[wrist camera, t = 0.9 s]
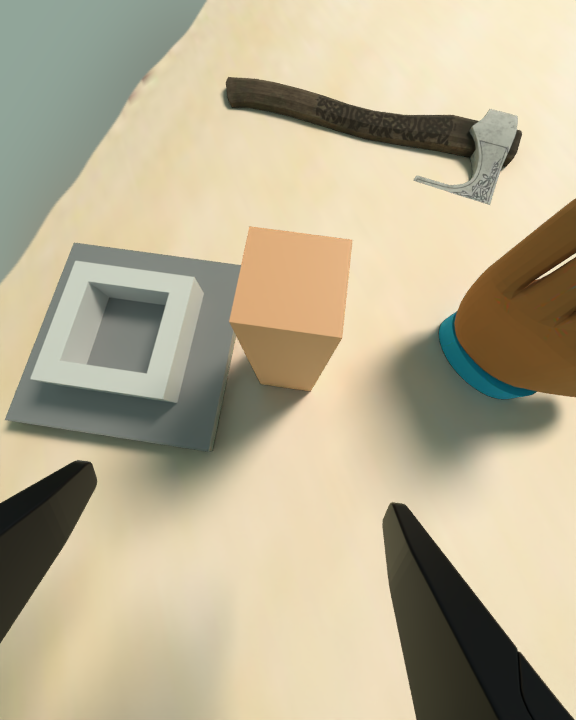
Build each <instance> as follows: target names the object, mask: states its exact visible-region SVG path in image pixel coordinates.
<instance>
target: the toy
mask: <svg viewBox="0 0 576 720" xmlns="http://www.w3.org/2000/svg"><path fill="white" fill-rule="evenodd" d="M575 253H576V199H574V200H573V201H571V202H570V203H569V204H567V205H566V206H565V207H564V208H562V209H561V210H560V211H559V212H557V213H556V214H555V215H553V216H552V217H551V218H550V219H548V220H547V221H546V222H545V223H543V224H542V225H541V226H540V227H538V228H537V229H536V230H535V231H533V232H532V233H531V234H530V235H528V236H527V237H526V238H525V239H524V240H522V241H521V242H520V243H519V244H517V245H516V246H515V247H514V248H512V249H511V250H510V251H509V252H507V253H506V254H505V255H504V256H502V257H501V258H500V259H499V260H497V261H496V262H495V263H494V264H493V265H491V266H490V267H489V268H488V269H487V270H486V271H485V272H484V273H483V274H482V275H481V276H480V277H479V278H478V279H477V280H476V282H475V283H474V284H473V285H472V286H471V288H470V289H469V290H468V292H467V293H466V295H465V296H464V298H463V300H462V301H461V304H460V306H459V309H458V311H457V312H455V313H454V314H452V315H451V316H450V317H448V318H447V319H445V320H444V321H443V322H442V324H441V326H440V329H439V339H440V344H441V347H442V350H443V352H444V354H445V356H446V358H447V360H448V361H449V363H450V364H451V366H452V367H453V368H454V370H455V371H456V372H457V373H458V374H459V375H460V376H461V377H462V378H463V379H464V380H465V381H466V382H467V383H468V384H470V385H471V386H472V387H474V388H475V389H476V390H478V391H480V392H481V393H483V394H485V395H487V396H490V397H493V398H497V399H511V398H517V397H524V396H529V395H533V394H534V393H536V392H543V393H549V394H555V395H563V396H570V397H576V257H575V258H574V259H572V260H570V261H569V262H567V263H566V264H564V265H563V266H561V267H560V268H558V269H557V270H555V271H553V272H552V273H550V274H549V275H547V276H545V277H543V278H541V279H538V280H536V279H537V278H539V277H540V276H541V275H543V274H545V273H546V272H548V271H549V270H551V269H552V268H554V267H555V266H557V265H558V264H560V263H561V262H563V261H564V260H566V259H567V258H569V257H570V256H572V255H573V254H575Z"/></svg>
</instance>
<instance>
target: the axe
mask: <svg viewBox="0 0 576 720" xmlns="http://www.w3.org/2000/svg"><path fill="white" fill-rule="evenodd" d="M226 88H227V96H228V100H229V103H230V105H231V107H232V108H253V109H259V110H264V111H269V112H273V113H277V114H282V115H286V116H290V117H293V118H297V119H300V120H304V121H307V122H311V123H314V124H317V125H320V126H324V127H327V128H330V129H333V130H336V131H340V132H343V133H346V134H350V135H353V136H357V137H360V138H364V139H368V140H374V141H380V142H385V143H391V144H397V145H403V146H409V147H415V148H422V149H428V150H435V151H441V152H446V153H451V154H456V155H461V156H466V157H470V160H471V164H472V171H473V174H472V178H471V180H470V181H468V182H466V183H464V184H459V185H447V184H444V183H440V182H437V181H433V180H430V179H427V178H424V177H420V176H416V177H415V179H414V181H417V182H420V183H423V184H426V185H429V186H432V187H435V188H438V189H442V190H445V191H448V192H450V193H453V194H457V195H460V196H463V197H466V198H470V199H473V200H476V201H479V202H482V203H485V204H489V205H490V204H491V200H492V196H493V192H494V189H495V186H496V183H497V180H498V177H499V174H500V171H501V168H502V165H504V166H507V165H508V164H509V163H510V162H511V161H512V159H513V158H514V156H515V155H516V153H517V150H518V147H519V143H520V139H521V136H522V132H521V131H520V130H517V123H518V118H517V116H516V115H512V114H508V113H504V112H500V111H496V110H492V109H489V111H488V112H487V114H486V115H485V117H484V118H483V119H482V120H480V121H476V120H472V119H467V118H463V117H459V116H455V115H401V114H393V113H386V112H379V111H373V110H369V109H365V108H361V107H357V106H353V105H349V104H346V103H343V102H340V101H337V100H334V99H332V98H329V97H326V96H323V95H319V94H316V93H313V92H309V91H306V90H303V89H299V88H295V87H291V86H287V85H283V84H279V83H275V82H270V81H265V80H259V79H250V78H233V77H228V79H227V81H226Z"/></svg>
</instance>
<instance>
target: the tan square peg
mask: <svg viewBox="0 0 576 720" xmlns="http://www.w3.org/2000/svg"><path fill="white" fill-rule="evenodd" d="M351 249H352V240H350V239H342V238H334V237H327V236H319V235H311V234H304V233H296V232H289V231H281V230H273V229H266V228H258V227H249V231H248V236H247V241H246V245H245V250H244V255H243V259H242V264H241V269H240V273H239V278H238V283H237V287H236V292H235V297H234V301H233V306H232V311H231V315H230V320H229V323H230V325H231V327H232V329H233V331H234V333H235V334H236V336H237V338H238V340H239V342H240V344H241V346H242V348H243V350H244V352H245V354H246V356H247V358H248V360H249V362H250V364H251V366H252V368H253V370H254V372H255V374H256V376H257V378H258V380H259V382H260V384H263V385H270V386H277V387H284V388H290V389H297V390H304V391H311V390H312V388H313V387H314V385H315V383H316V382H317V380H318V378H319V376H320V375H321V373H322V371H323V370H324V368H325V366H326V365H327V363H328V361H329V359H330V358H331V356H332V354H333V353H334V351H335V349H336V347H337V346H338V344H339V342H340V341H341V339H342V334H343V325H344V315H345V306H346V296H347V287H348V277H349V268H350V258H351Z"/></svg>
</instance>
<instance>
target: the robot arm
mask: <svg viewBox="0 0 576 720" xmlns="http://www.w3.org/2000/svg"><path fill="white" fill-rule="evenodd" d="M96 485H97V478H96V474H95V471H94V468H93V465H92V463H91V462H88V461H80V460H77V461H74V462H72V463H70V464H68V465H67V466H65V467H63V468H61V469H60V470H58V471H56V472H54V473H53V474H51V475H49V476H47V477H46V478H44V479H42V480H40V481H38V482H37V483H35V484H33V485H31V486H30V487H28V488H26V489H24V490H23V491H21V492H19V493H17V494H16V495H14V496H12V497H10V498H9V499H7V500H5V501H3V502H2V503H0V643H1V641H2V640H3V638H4V637H5V635H6V634H7V632H8V631H9V629H10V628H11V626H12V625H13V623H14V622H15V620H16V619H17V617H18V615H19V614H20V612H21V611H22V609H23V608H24V606H25V605H26V603H27V602H28V600H29V599H30V597H31V596H32V594H33V592H34V591H35V589H36V588H37V586H38V585H39V583H40V582H41V580H42V579H43V577H44V576H45V574H46V573H47V571H48V570H49V568H50V566H51V565H52V563H53V562H54V560H55V559H56V557H57V556H58V554H59V553H60V551H61V550H62V548H63V546H64V545H65V543H66V542H67V540H68V538H69V536H70V535H71V533H72V531H73V529H74V527H75V525H76V524H77V522H78V520H79V518H80V516H81V514H82V512H83V510H84V509H85V507H86V505H87V503H88V501H89V499H90V497H91V495H92V494H93V492H94V490H95V488H96ZM383 535H384V545H385V554H386V563H387V572H388V580H389V587H390V593H391V598H392V603H393V608H394V612H395V617H396V622H397V627H398V632H399V637H400V642H401V646H402V651H403V656H404V661H405V666H406V671H407V675H408V680H409V685H410V690H411V695H412V700H413V705H414V709H415V714H416V719H417V720H574V718H573V717H572V716H571V715H570V714H569V712H568V711H567V710H566V709H565V708H564V706H563V705H562V704H561V703H560V701H559V700H558V699H557V698H556V696H555V695H554V694H553V693H552V691H551V690H550V689H549V688H548V686H547V685H546V684H545V683H544V681H543V680H542V679H541V678H540V676H539V675H538V674H537V673H536V671H535V670H534V669H533V668H532V666H531V665H530V664H529V662H528V661H527V660H526V659H525V657H524V656H523V655H522V653H521V652H518V650H517V647H516V646H515V645H514V643H513V642H512V641H511V639H510V638H509V637H508V636H507V634H506V633H505V632H504V630H503V629H502V628H501V627H500V625H499V624H498V623H497V621H496V620H495V619H494V618H493V616H492V615H491V614H490V612H489V611H488V610H487V609H486V607H485V606H484V605H483V603H482V602H481V601H480V600H479V598H478V597H477V596H476V594H475V593H474V592H473V591H472V589H471V588H470V587H469V585H468V584H467V583H466V582H465V580H464V579H463V578H462V576H461V575H460V574H459V573H458V571H457V570H456V569H455V567H454V566H453V565H452V564H451V562H450V561H449V560H448V558H447V557H446V556H445V555H444V553H443V552H442V551H441V549H440V548H439V547H438V546H437V544H436V543H435V542H434V540H433V539H432V538H431V537H430V535H429V534H428V533H427V531H426V530H425V529H424V528H423V526H422V525H421V524H420V522H419V521H418V520H417V519H416V517H415V516H414V515H413V513H412V512H411V511H410V510H409V508H408V507H407V506H406V505H405V504H401V503H394V502H392V503H390V505H389V507H388V509H387V511H386V513H385V516H384V518H383Z"/></svg>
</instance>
